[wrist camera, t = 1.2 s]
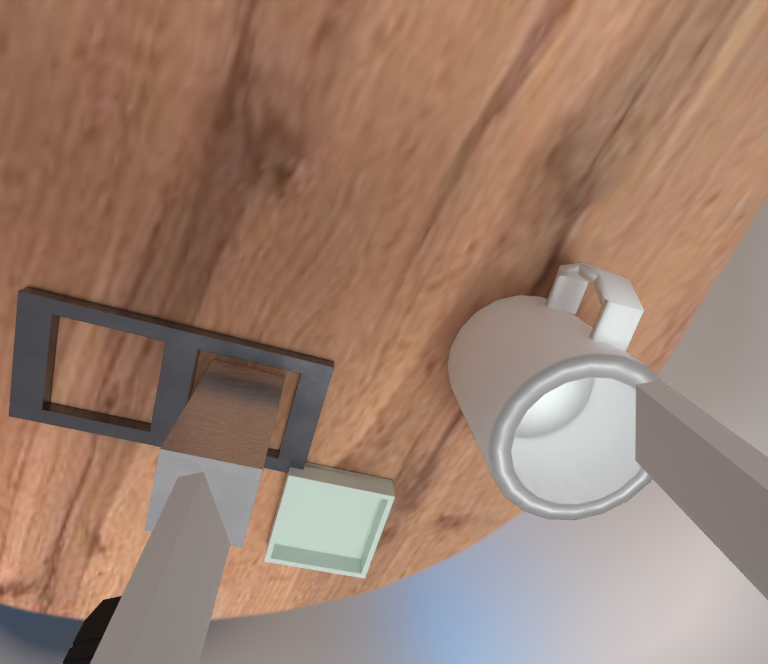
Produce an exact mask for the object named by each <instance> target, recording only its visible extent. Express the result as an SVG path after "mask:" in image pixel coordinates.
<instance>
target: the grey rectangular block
mask: <svg viewBox="0 0 768 664" xmlns="http://www.w3.org/2000/svg"><path fill="white" fill-rule="evenodd" d="M284 379H285V377H284V376H280V375H276V374H272V373H267V372H263V371H259V370H255V369H250V368H246V367H242V366H238V365H233V364H229V363H225V362H221V361H217V360H213V361H212V363H211V365H210V366H209V368H208V370H207V371H206V373H205V375H204V376H203V378H202V380H201V381H200V383H199V385H198V386H197V388H196V390H195V391H194V393H193V395H192V396H191V398H190V400H189V401H188V403H187V405H186V406H185V408H184V410H183V411H182V413H181V415H180V416H179V418H178V420H177V421H176V423H175V425H174V426H173V428H172V430H171V431H170V433H169V435H168V436H167V438H166V440H165V441H164V443H163V445H162V446H161V448H160V452H159V457H158V462H157V468H156V473H155V478H154V484H153V489H152V494H151V500H150V505H149V510H148V516H147V521H146V526H145V530H146V531H153V529H154V527H155V525H156V523H157V521H158V519H159V516H160V514H161V512H162V510H163V508H164V506H165V504H166V502H167V500H168V497H169V495H170V493H171V491H172V489H173V487H174V485H175V483H176V480H177V478H178V477H181V476H186V475H191V474H196V473H201V472H204V474H205V476H206V479H207V482H208V485H209V487H210V490H211V493H212V495H213V498H214V501H215V504H216V506H217V509H218V512H219V514H220V517H221V520H222V523H223V525H224V528H225V531H226V534H227V536H228V539H229V542H230V545H233V546H238V547H242V546H243V542H244V539H245V535H246V531H247V527H248V524H249V520H250V516H251V512H252V508H253V505H254V501H255V497H256V493H257V490H258V486H259V482H260V478H261V475H262V471H263V467H264V463H265V459H266V454H267V450H268V446H269V442H270V438H271V434H272V429H273V425H274V421H275V417H276V413H277V409H278V404H279V400H280V396H281V392H282V388H283V384H284Z"/></svg>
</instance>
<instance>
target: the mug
mask: <svg viewBox="0 0 768 664" xmlns="http://www.w3.org/2000/svg"><path fill="white" fill-rule="evenodd" d="M590 282H591V283H592V284H593V285H594V287H595V290H596V292H597V295H598V297H599V300H600V302H601V305H602V307H601V310H600V312H599V314H598V317H597V319H596V322H595V324H594V326H593V328H592V327H591V326H589V325H588V324H586V323H585V322H584V321H582V320H581V319H579V318H578V317H576V316H575V315H574V314H576V312H577V309H578V307H579V304H580V302H581V300H582V297H583V295H584V292H585V290H586V287H587V285H588V283H590ZM643 311H644V309H643V307H642V305H641V303H640V301H639V299H638V297H637V295H636V293H635V291H634V289H633V287H632V285H631V282H630V281H629V280H627V279H625V278H623V277H621V276H619V275H618V274H616V273H614V272H612V271H610V270H608V269H604V268H600V267H597V266H593V265H589V264H585V263H582V262H579V263H573V264H567V265H561V266H560V267H559V270H558V272H557V275H556V277H555V280H554V283H553V285H552V288H551V291H550V293H549V296H548V298H547V299H545V298H543V297H537V296H525V295H517V296H513V297H508V298H504V299H500V300H496V301H495V302H493V303H491V304H489V305H487V306H486V307H484V308H482V309H480V310H479V311H477V312H476V313H475V314H474V315H473V316H472V317H471V318H470V319H469V320H468V321H467V322H466V323H465V324H464V325H463V326H462V327H461V328H460V330H459V332H458V334H457V336H456V338H455V340H454V342H453V344H452V346H451V348H450V354H449V360H448V367H447V369H448V375H449V380H450V386H451V389H452V391H453V393H454V395H455V398H456V400H457V402H458V404H459V406H460V408H461V410H462V413H463V415H464V417H465V419H466V421H467V423H468V425H469V428H470V430H471V432H472V434H473V436H474V438H475V440H476V443H477V445H478V447H479V449H480V451H481V453H482V455H483V458H484V460H485V462H486V464H487V466H488V468H489V470H490V473H491V475H492V477H493V478H494V480H495V482H496V483H497V485H498V487H499V488H500V490H501V491H502V493H503V495H504V496H505V497H506V498H507V499H509V500H510V501H511V502H512V503H514V504H515V505H516V506H518V507H519V508H520V509H522V510H523V511H525V512H528V513H531V514H534V515H537V516H540V517H543V518H546V519H560V520H577V519H581V518H586V517H590V516H594V515H599V514H602V513H605V512H607V511H609V510H610V509H612V508H615V507H617V506H619V505H620V504H623V503H625V502H627V501H628V500H629V499H631V498H632V497H633V496H634V495H635V494H637V493H638V492H639V491H640V490H641V489H643V488H644V487H645V486H646V485H647V484H648V483H650V482H651V480H652V478H651V477H650V476H649V474H648V473H647V472H646V471H645V470H644V469H643V468H642V467H641V466H640V465H639V464H638V463H637V462H636V461H635V433H636V385H637V384H642V383H647V382H652V381H657V380H660V379H659V378H658V377H657V376H656V375H655V374H654V373H653V372H652V371H651V370H650V369H649V368H648V367H647V366H646V365H644V364H643V363H642V362H640V361H639V360H637V359H636V358H635V357H633V356H632V355H630V354H629V353H627V352H626V349H627V347H628V345H629V342H630V340H631V338H632V336H633V334H634V331H635V329H636V327H637V325H638V322H639V320H640V318H641V316H642V314H643Z"/></svg>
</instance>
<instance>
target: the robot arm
mask: <svg viewBox="0 0 768 664" xmlns="http://www.w3.org/2000/svg"><path fill="white" fill-rule="evenodd" d="M635 461H636V462H637V463H638V464H639V465H640V466H641V467H642V468H643V469H644V470H645V471H646V472H647V473H648V474H649V476H650V477H651V478H652V479H653V480H654V481H655V482H656V483H657V484H658V485H659V486H660V487H661V488H662V489H663V490H664V491H665V492H666V493H667V494H668V495H669V496H670V498H671V499H672V500H673V501H674V502H675V503H676V504H677V505H678V506H679V507H680V508H681V509H682V510H683V511H684V512H685V513H686V514H687V516H689V518H690V519H691V520H692V521H693V522H694V523H695V524H696V525H697V526H698V527H699V528H700V529H701V530H702V531H703V532H704V533H705V534H706V535H707V536H708V538H710V540H711V541H712V542H713V543H714V544H715V545H716V546H717V547H718V548H719V549H720V550H721V551H722V552H723V553H724V554H725V555H726V557H728V559H729V560H730V561H731V562H732V563H733V564H734V565H735V566H736V567H737V568H738V569H739V570H740V571H741V572H742V573H743V574H744V575H745V577H746V578H747V579H748V580H749V581H750V582H751V583H752V584H753V585H754V586H755V587H756V588H757V589H758V590H759V591H760V592H761V593H762V594H763V595H764V596H765V598H766V599H767V600H768V457H767V456H765V455H764V454H763V453H761V452H760V451H758V450H757V449H756V448H754V447H753V446H752V445H750V444H749V443H747V442H746V441H745V440H743V439H742V438H740V437H739V436H737V435H736V434H735V433H733V432H732V431H731V430H729V429H728V428H727V427H725V426H724V425H722V424H721V423H720V422H718V421H717V420H715V419H714V418H713V417H711V416H710V415H709V414H707V413H706V412H704V411H703V410H702V409H700V408H699V407H698V406H696V405H695V404H693V403H692V402H691V401H689V400H688V399H687V398H685V397H684V396H682V395H681V394H680V393H678V392H677V391H675V390H674V389H673V388H671V387H670V386H669V385H667V384H666V383H664V382H663V381H662V380H657V381H652V382H647V383H642V384H637V385H636V433H635ZM229 546H230V542H229V539H228V536H227V534H226V531H225V528H224V525H223V523H222V520H221V517H220V514H219V512H218V509H217V506H216V504H215V501H214V498H213V495H212V493H211V490H210V487H209V485H208V482H207V479H206V476H205V474H204V472H201V473H196V474H191V475H186V476H181V477H178V478H177V480H176V483H175V485H174V487H173V489H172V491H171V493H170V495H169V497H168V500H167V502H166V504H165V506H164V508H163V510H162V512H161V514H160V516H159V519H158V521H157V523H156V525H155V527H154V529H153V531H152V533H151V536H150V538H149V540H148V542H147V544H146V546H145V548H144V550H143V553H142V555H141V557H140V559H139V561H138V563H137V565H136V567H135V570H134V572H133V574H132V576H131V578H130V580H129V582H128V584H127V586H126V589H125V591H124V593H123V595H122V596H120V597H115V598H110V599H105V600H103V601H102V602H101V603H100V604H99V605H98V606H97V608H96V609H95V610H94V611H93V612H92V613H91V614H90V615H89V616H88V618H87V619H86V620H85V621H84V623H83V625H82V627H81V629H80V631H79V633H78V634H77V636H76V638H75V640H74V642H73V647H72V648H70V650H69V651H68V654H67V655H66V657H65V659H64V661H63V664H199V661H200V657H201V653H202V649H203V646H204V642H205V638H206V634H207V630H208V626H209V623H210V619H211V615H212V611H213V607H214V604H215V600H216V596H217V592H218V588H219V585H220V581H221V577H222V573H223V569H224V565H225V562H226V558H227V554H228V550H229Z"/></svg>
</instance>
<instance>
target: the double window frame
mask: <svg viewBox="0 0 768 664" xmlns="http://www.w3.org/2000/svg"><path fill="white" fill-rule="evenodd" d="M59 316H62V317H66V318H70V319H74V320H78V321H83V322H87V323H91V324H95V325H99V326H104V327H108V328H112V329H116V330H120V331H125V332H129V333H133V334H137V335H141V336H146V337H150V338H154V339H158V340H162V341H166V345H165V351H164V356H163V362H162V368H161V373H160V379H159V384H158V390H157V396H156V401H155V407H154V412H153V418H152V424H149V423H144V422H139V421H135V420H130V419H125V418H120V417H115V416H111V415H106V414H101V413H96V412H92V411H87V410H82V409H77V408H73V407H68V406H63V405H58V404H53V403H50V399H51V390H52V380H53V371H54V361H55V352H56V342H57V333H58V323H59ZM200 350H204V351H208V352H213V353H217V354H221V355H225V356H229V357H234V358H238V359H242V360H246V361H250V362H255V363H259V364H263V365H267V366H271V367H276V368H280V369H284V370H288V371H292V372H296V373H301V375H300V378H299V382H298V386H297V389H296V393H295V397H294V400H293V404H292V408H291V411H290V415H289V419H288V422H287V426H286V429H285V433H284V437H283V440H282V444H281V448H280V451H278V450H273V449H268V450H267V454H266V459H265V463H264V467H263V468H268V469H273V470H278V471H283V472H287V473H288V472H289V469H290V467H292V468H297V469H302V470H303V469H304V466H305V463H306V459H307V456H308V453H309V449H310V446H311V442H312V439H313V436H314V432H315V429H316V426H317V422H318V419H319V415H320V412H321V409H322V405H323V402H324V398H325V395H326V392H327V388H328V385H329V382H330V378H331V375H332V371H333V368H334V362H332V361H328V360H324V359H320V358H316V357H312V356H308V355H304V354H300V353H296V352H292V351H287V350H283V349H279V348H275V347H271V346H267V345H263V344H259V343H255V342H251V341H247V340H243V339H239V338H235V337H230V336H226V335H222V334H218V333H214V332H210V331H206V330H202V329H198V328H194V327H190V326H186V325H182V324H178V323H173V322H169V321H165V320H161V319H157V318H153V317H149V316H145V315H141V314H137V313H133V312H129V311H125V310H120V309H116V308H112V307H108V306H104V305H100V304H96V303H92V302H88V301H84V300H80V299H76V298H72V297H68V296H63V295H59V294H55V293H51V292H47V291H43V290H39V289H35V288H31V287H26V288H24V289H22V290H19V291H18V303H17V316H16V329H15V342H14V355H13V368H12V381H11V394H10V407H9V416H11V417H16V418H21V419H26V420H31V421H36V422H41V423H46V424H50V425H55V426H60V427H65V428H70V429H75V430H80V431H85V432H90V433H95V434H100V435H105V436H110V437H115V438H120V439H125V440H129V441H134V442H139V443H144V444H149V445H154V446H159V447H161V446H162V445H163V443H164V441H165V440H166V438H167V436H168V435H169V433H170V431H171V430H172V428H173V426H174V425H175V423H176V421H177V420H178V418H179V416H180V415H181V413H182V411H183V410H184V408H185V406H186V405H187V403H188V401H189V400H190V396H191V392H192V387H193V382H194V377H195V372H196V367H197V362H198V357H199V352H200Z"/></svg>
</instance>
